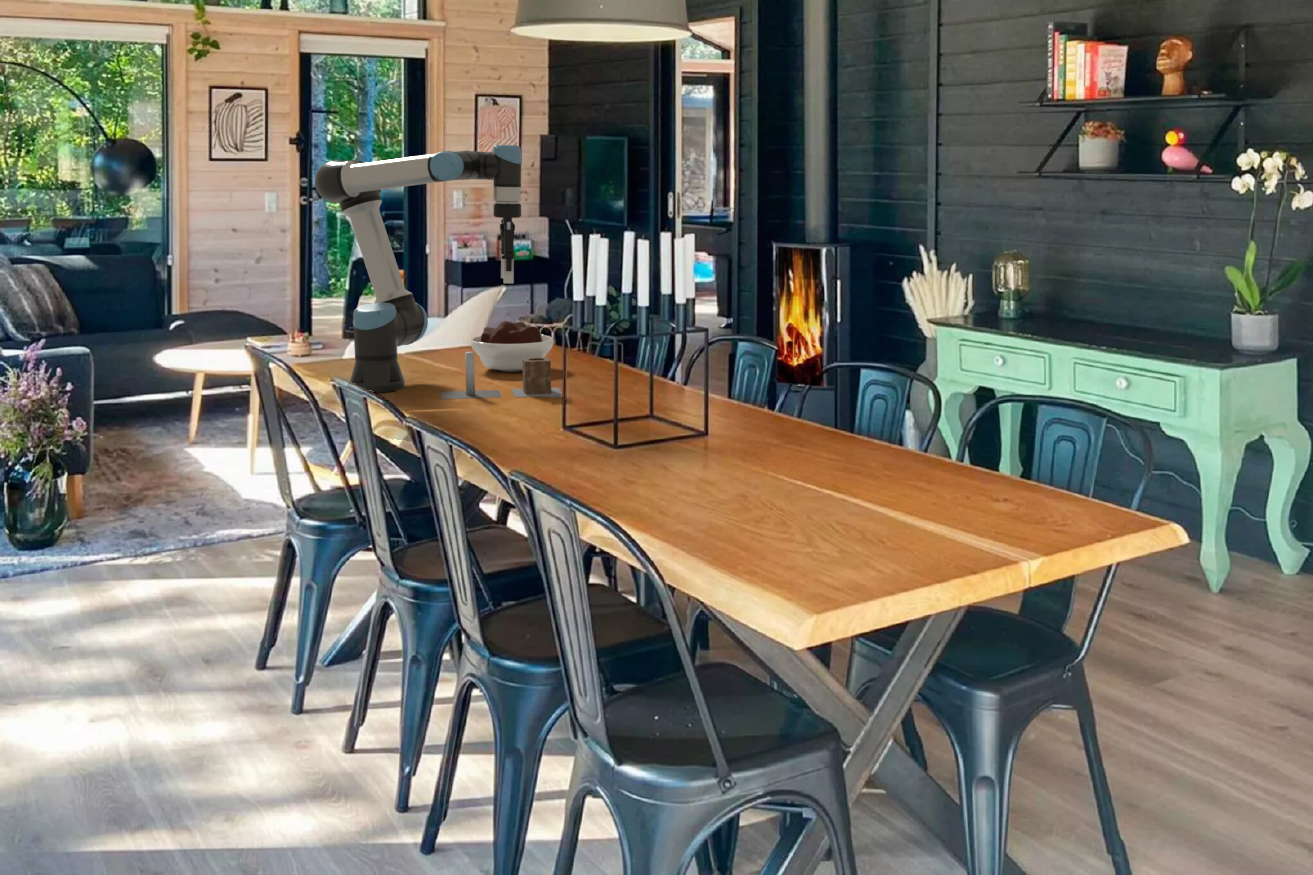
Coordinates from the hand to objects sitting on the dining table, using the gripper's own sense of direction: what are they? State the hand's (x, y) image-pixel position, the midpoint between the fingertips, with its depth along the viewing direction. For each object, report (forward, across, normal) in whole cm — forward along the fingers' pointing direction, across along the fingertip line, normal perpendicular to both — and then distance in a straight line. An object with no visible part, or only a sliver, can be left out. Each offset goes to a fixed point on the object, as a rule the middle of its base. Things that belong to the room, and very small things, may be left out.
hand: (507, 280), depth 389 cm
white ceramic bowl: (+31, +34, -4) cm, 46 cm away
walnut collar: (+29, -11, -8) cm, 32 cm away
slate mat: (+30, -11, -8) cm, 33 cm away
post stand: (+30, -11, +10) cm, 34 cm away
